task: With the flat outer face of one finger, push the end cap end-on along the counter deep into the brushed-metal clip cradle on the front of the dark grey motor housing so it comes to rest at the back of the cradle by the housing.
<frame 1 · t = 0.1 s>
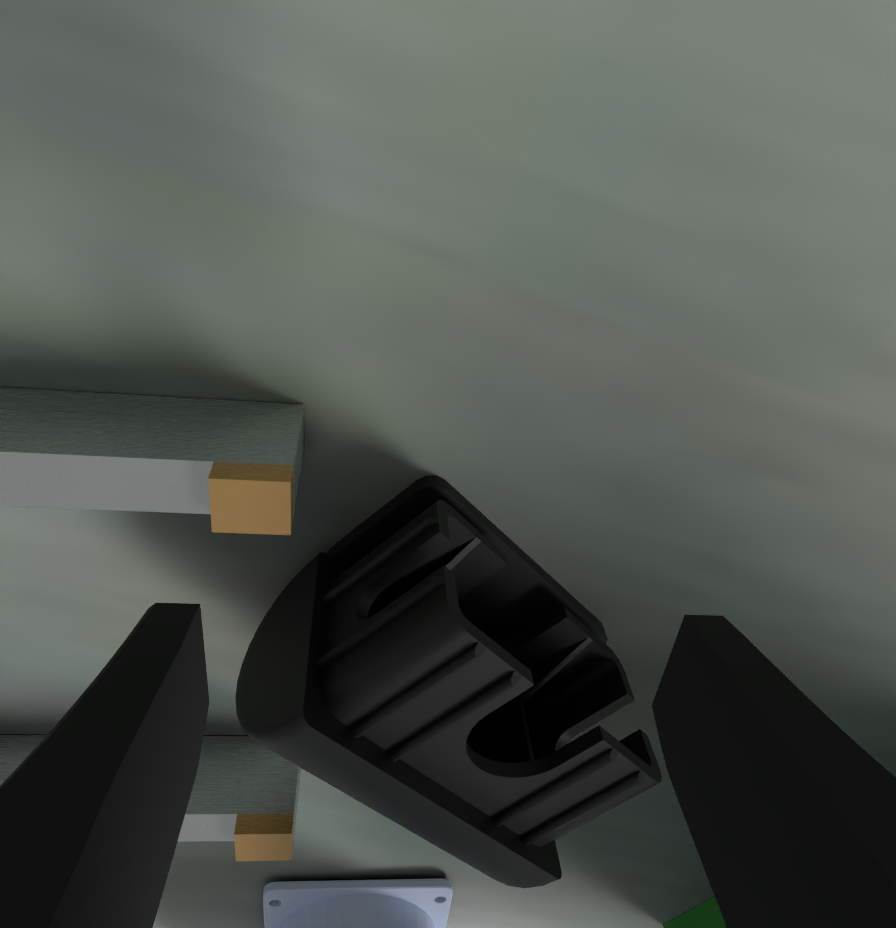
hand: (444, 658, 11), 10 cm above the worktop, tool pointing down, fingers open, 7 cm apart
motor housing with clip cradle: (87, 608, 23), on the worktop
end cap: (442, 609, 25), on the worktop
green box: (857, 860, 35), on the worktop
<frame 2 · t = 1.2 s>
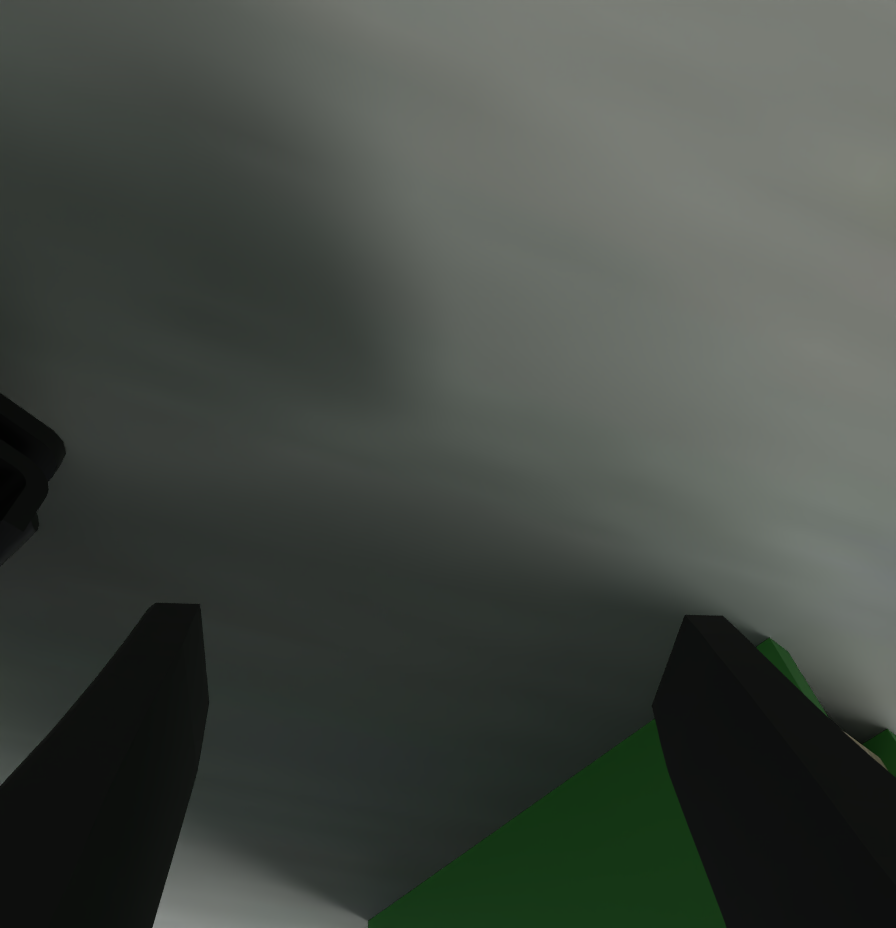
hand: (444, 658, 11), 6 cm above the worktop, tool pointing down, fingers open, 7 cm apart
green box: (617, 830, 26), on the worktop
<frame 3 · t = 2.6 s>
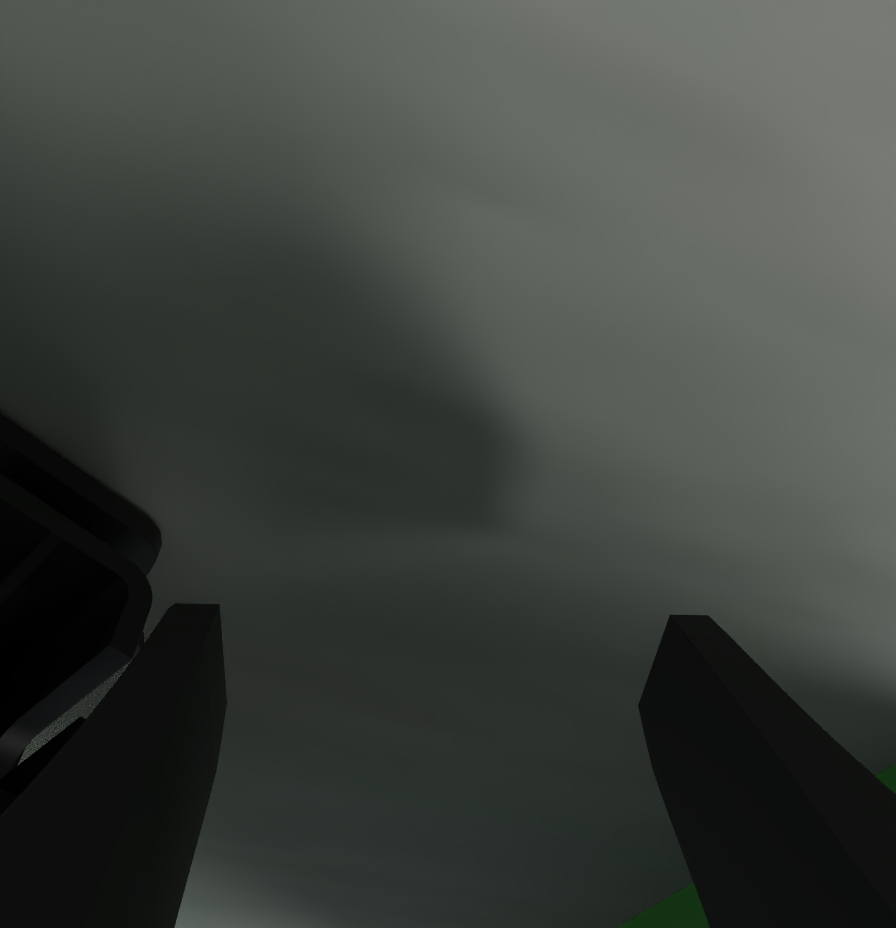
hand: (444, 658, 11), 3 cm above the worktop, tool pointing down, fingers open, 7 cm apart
green box: (760, 913, 24), on the worktop
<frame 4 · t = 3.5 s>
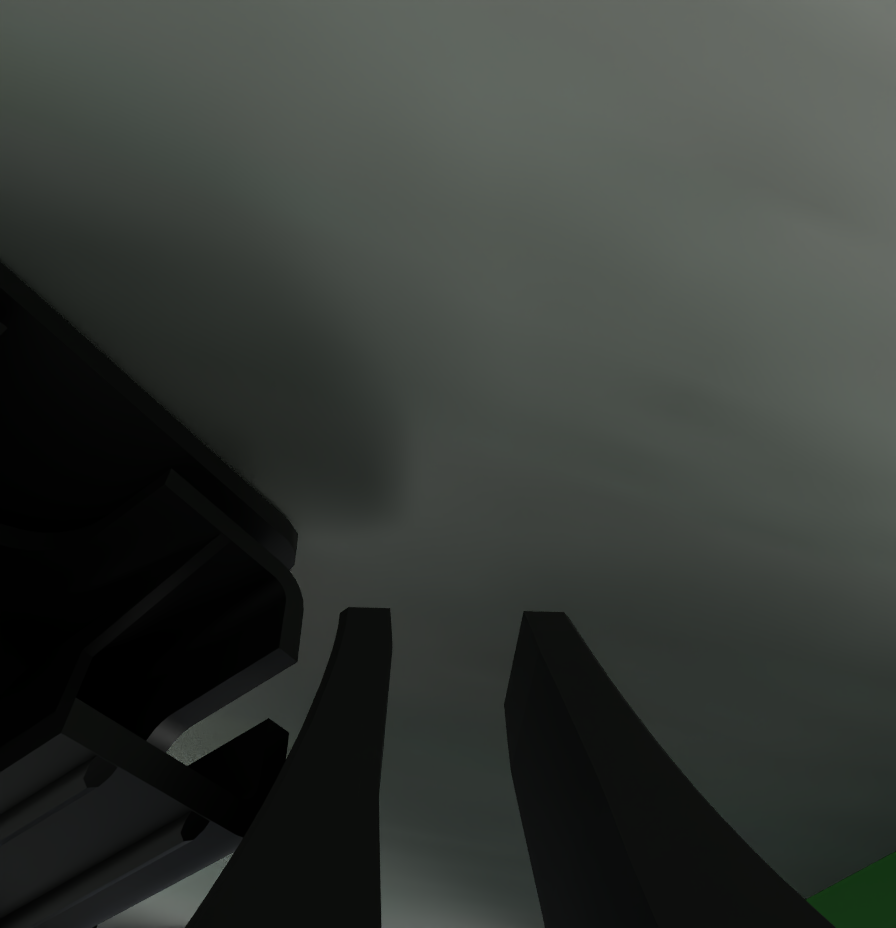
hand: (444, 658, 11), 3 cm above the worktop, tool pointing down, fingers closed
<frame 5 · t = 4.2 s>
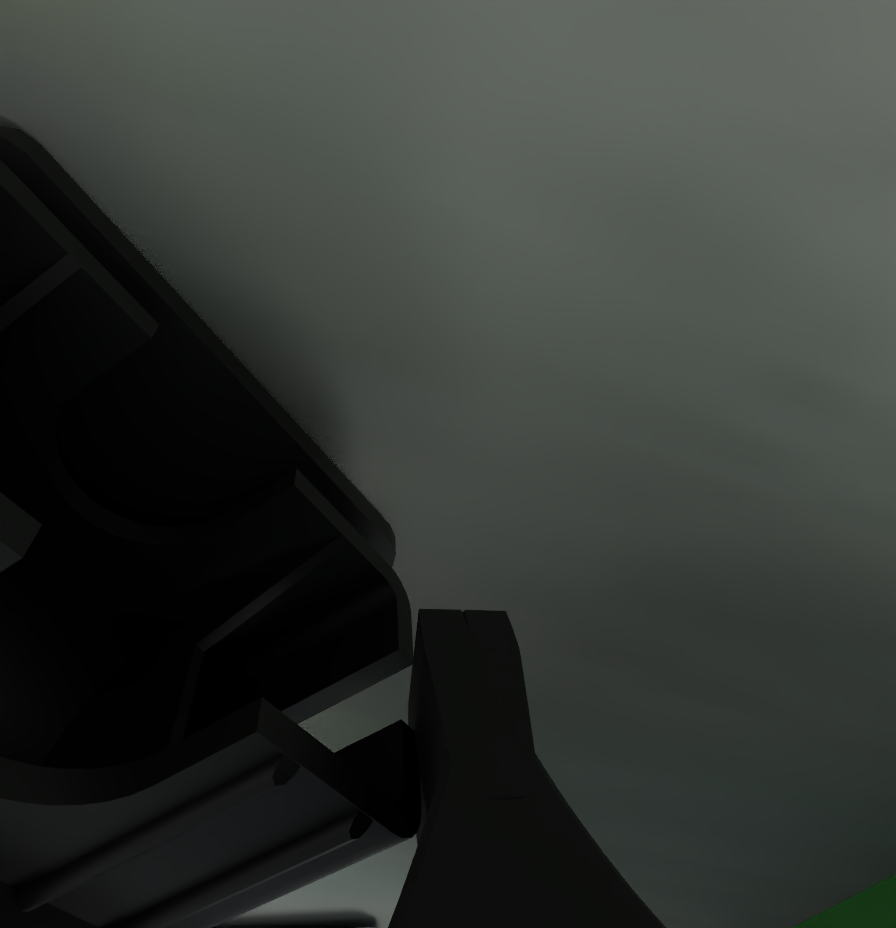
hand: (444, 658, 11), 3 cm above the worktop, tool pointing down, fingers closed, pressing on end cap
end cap: (89, 464, 13), on the worktop, touching gripper, motor housing with clip cradle
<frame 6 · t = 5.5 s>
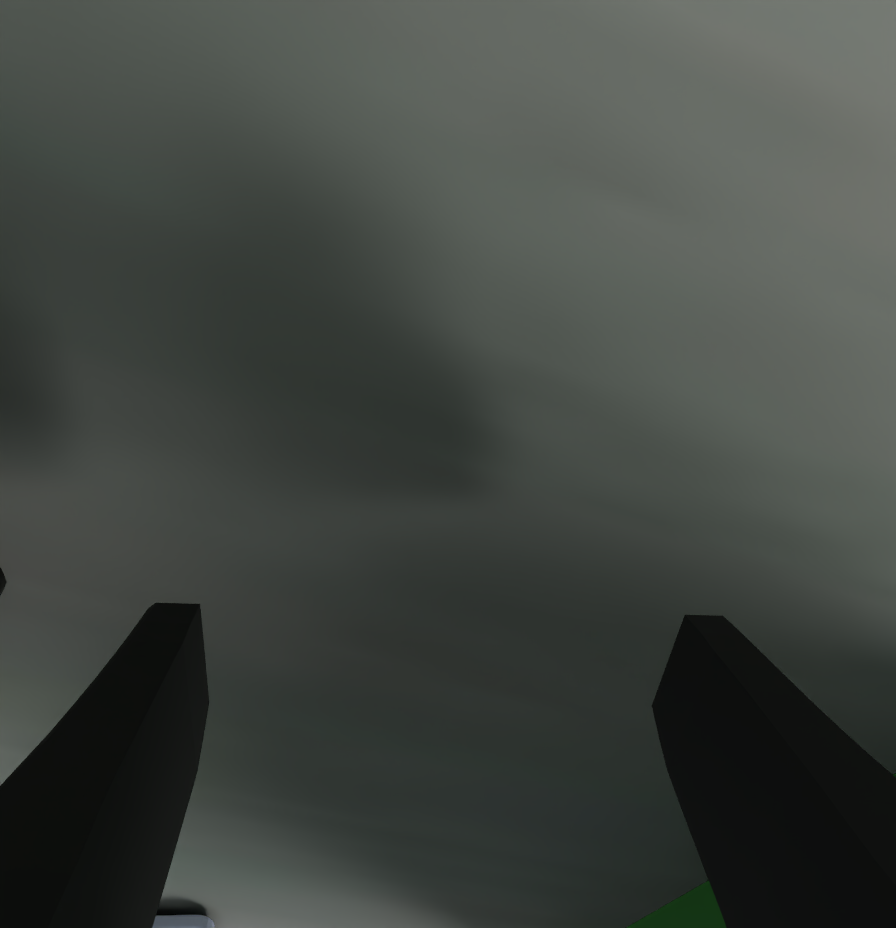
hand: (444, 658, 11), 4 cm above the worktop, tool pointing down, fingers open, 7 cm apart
green box: (816, 885, 25), on the worktop
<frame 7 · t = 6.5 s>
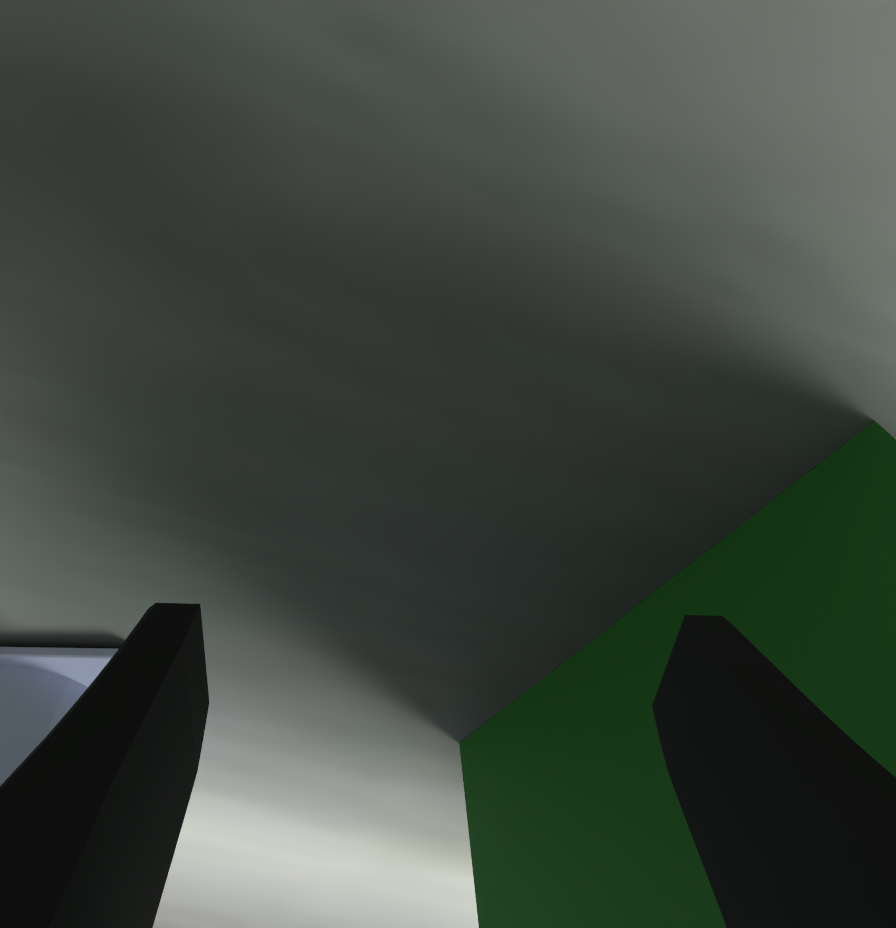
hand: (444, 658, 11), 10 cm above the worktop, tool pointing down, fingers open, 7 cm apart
green box: (706, 647, 27), on the worktop
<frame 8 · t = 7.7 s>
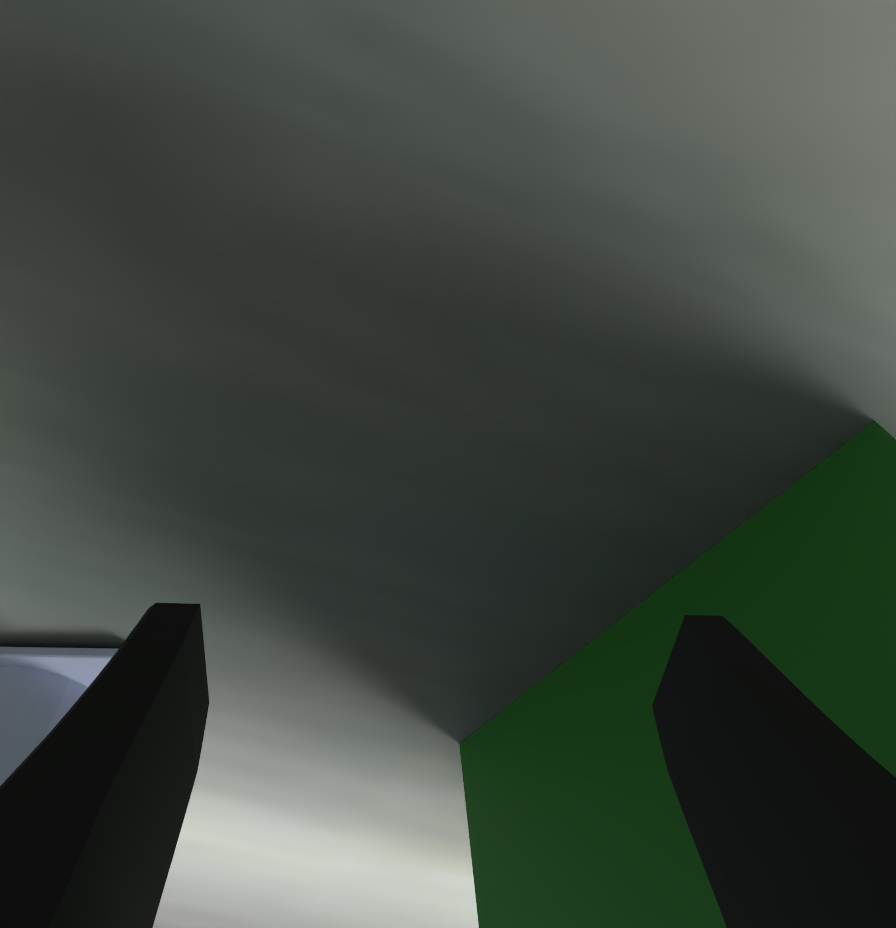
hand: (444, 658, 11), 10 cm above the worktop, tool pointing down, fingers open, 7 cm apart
green box: (706, 647, 27), on the worktop
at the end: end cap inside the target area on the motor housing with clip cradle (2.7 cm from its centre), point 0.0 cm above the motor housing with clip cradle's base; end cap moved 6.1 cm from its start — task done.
